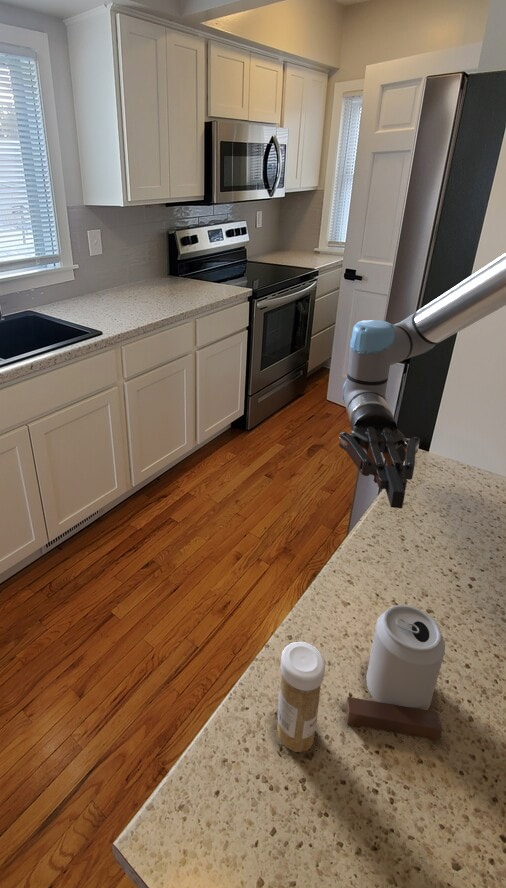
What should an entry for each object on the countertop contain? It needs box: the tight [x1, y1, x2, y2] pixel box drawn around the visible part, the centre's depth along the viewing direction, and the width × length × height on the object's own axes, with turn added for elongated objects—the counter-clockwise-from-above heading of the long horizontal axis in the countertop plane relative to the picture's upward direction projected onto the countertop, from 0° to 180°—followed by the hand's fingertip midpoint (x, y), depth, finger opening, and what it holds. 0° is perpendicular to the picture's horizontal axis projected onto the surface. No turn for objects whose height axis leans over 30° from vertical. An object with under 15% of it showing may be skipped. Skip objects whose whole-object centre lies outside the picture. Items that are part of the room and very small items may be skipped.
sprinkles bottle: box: [276, 641, 326, 753], centre depth 54 cm, size 5×5×14 cm
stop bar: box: [344, 696, 443, 742], centre depth 57 cm, size 10×2×3 cm, turn 79°
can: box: [365, 604, 446, 711], centre depth 59 cm, size 8×8×12 cm
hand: (397, 499), depth 67 cm, fingers closed
